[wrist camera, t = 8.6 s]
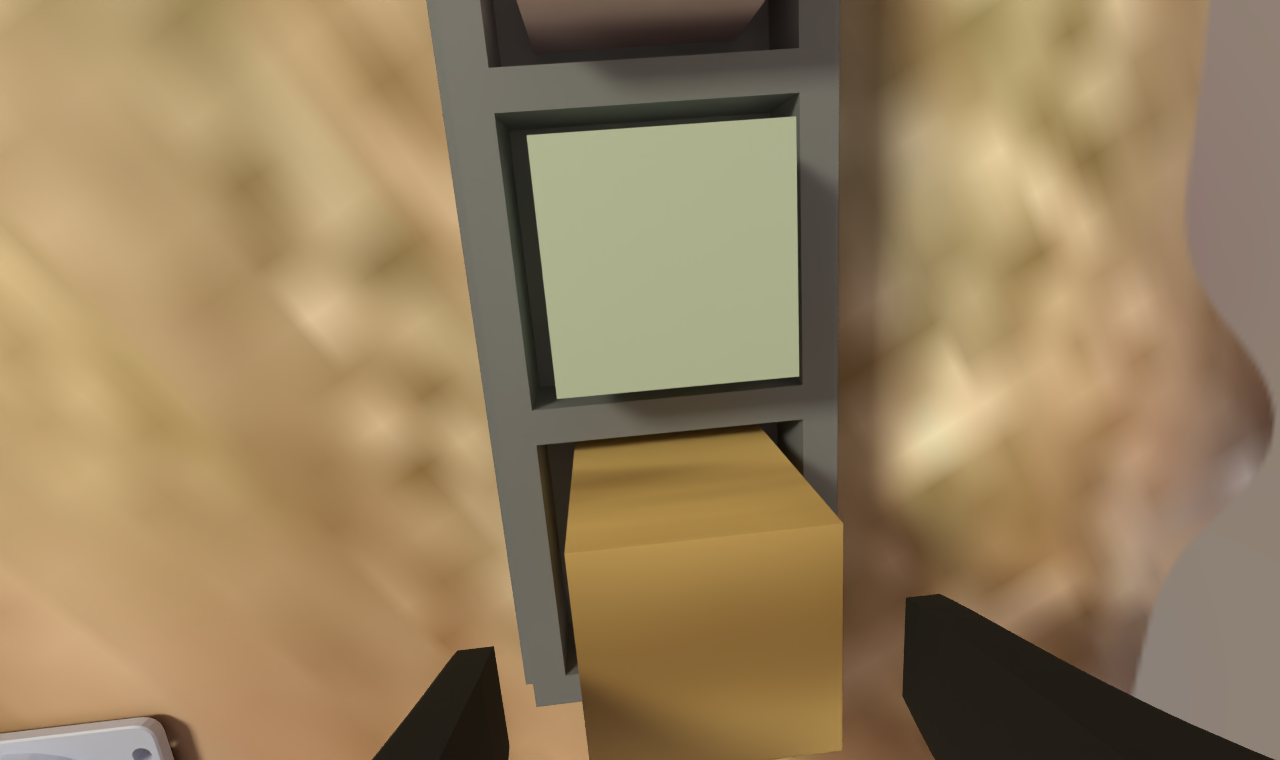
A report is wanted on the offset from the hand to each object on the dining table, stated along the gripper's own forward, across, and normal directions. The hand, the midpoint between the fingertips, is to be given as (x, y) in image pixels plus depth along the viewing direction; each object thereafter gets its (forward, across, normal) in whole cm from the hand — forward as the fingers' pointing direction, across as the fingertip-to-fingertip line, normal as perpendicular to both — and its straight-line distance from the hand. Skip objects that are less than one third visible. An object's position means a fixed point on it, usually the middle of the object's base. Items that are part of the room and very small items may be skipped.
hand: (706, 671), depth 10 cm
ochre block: (+6, 0, 0) cm, 6 cm away
